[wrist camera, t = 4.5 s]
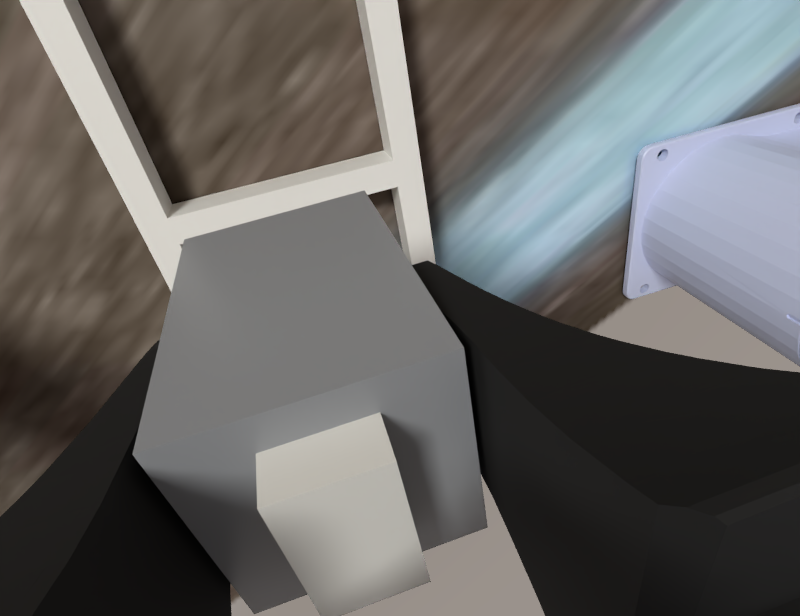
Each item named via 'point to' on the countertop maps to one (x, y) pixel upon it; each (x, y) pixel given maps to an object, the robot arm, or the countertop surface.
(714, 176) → the robot arm
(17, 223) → the countertop surface
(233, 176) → the countertop surface
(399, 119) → the frame
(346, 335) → the plug
